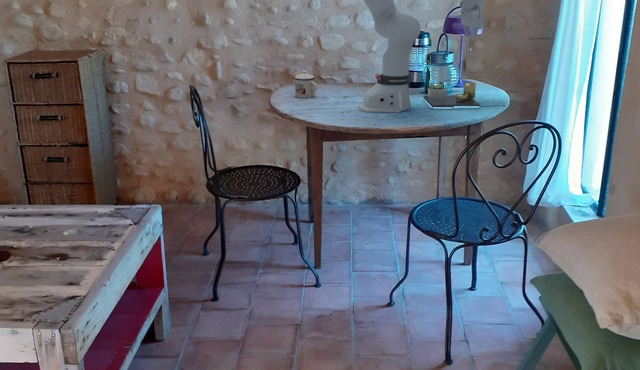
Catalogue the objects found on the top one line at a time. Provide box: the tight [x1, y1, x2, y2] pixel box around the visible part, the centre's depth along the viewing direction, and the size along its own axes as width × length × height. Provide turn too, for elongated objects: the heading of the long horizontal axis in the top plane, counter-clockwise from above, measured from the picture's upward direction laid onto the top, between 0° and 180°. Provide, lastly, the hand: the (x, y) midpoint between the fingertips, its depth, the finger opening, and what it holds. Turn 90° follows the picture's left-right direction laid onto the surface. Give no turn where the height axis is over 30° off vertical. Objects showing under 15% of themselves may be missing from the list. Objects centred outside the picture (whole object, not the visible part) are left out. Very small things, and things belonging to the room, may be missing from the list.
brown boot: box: [455, 81, 477, 101], centre depth 280 cm, size 11×5×6 cm, turn 136°
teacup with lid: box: [294, 70, 318, 99], centre depth 297 cm, size 12×9×12 cm
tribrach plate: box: [423, 84, 481, 107], centre depth 281 cm, size 20×18×8 cm
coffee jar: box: [424, 52, 432, 92], centre depth 302 cm, size 10×8×19 cm
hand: (470, 37), depth 276 cm, fingers open, 8 cm apart
